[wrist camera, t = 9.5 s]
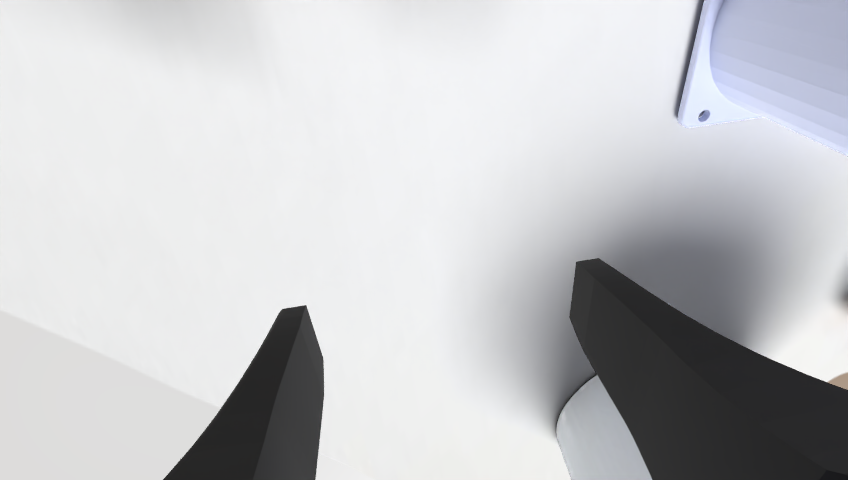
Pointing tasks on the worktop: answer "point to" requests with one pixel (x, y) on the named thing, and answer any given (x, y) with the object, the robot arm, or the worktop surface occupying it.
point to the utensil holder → (597, 438)
